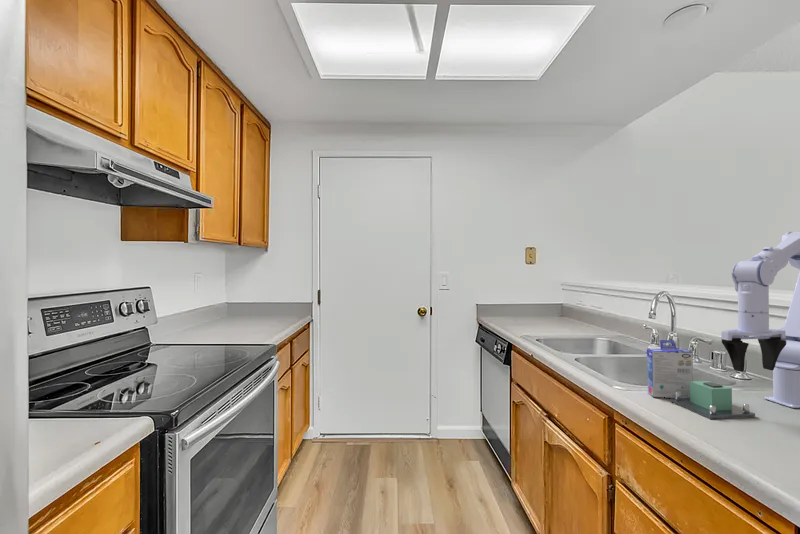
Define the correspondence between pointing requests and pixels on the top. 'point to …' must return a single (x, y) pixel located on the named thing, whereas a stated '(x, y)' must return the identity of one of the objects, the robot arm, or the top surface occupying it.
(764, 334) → the robot arm
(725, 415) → the chassis
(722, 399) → the block
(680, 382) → the ink cartridge box
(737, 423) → the top surface
